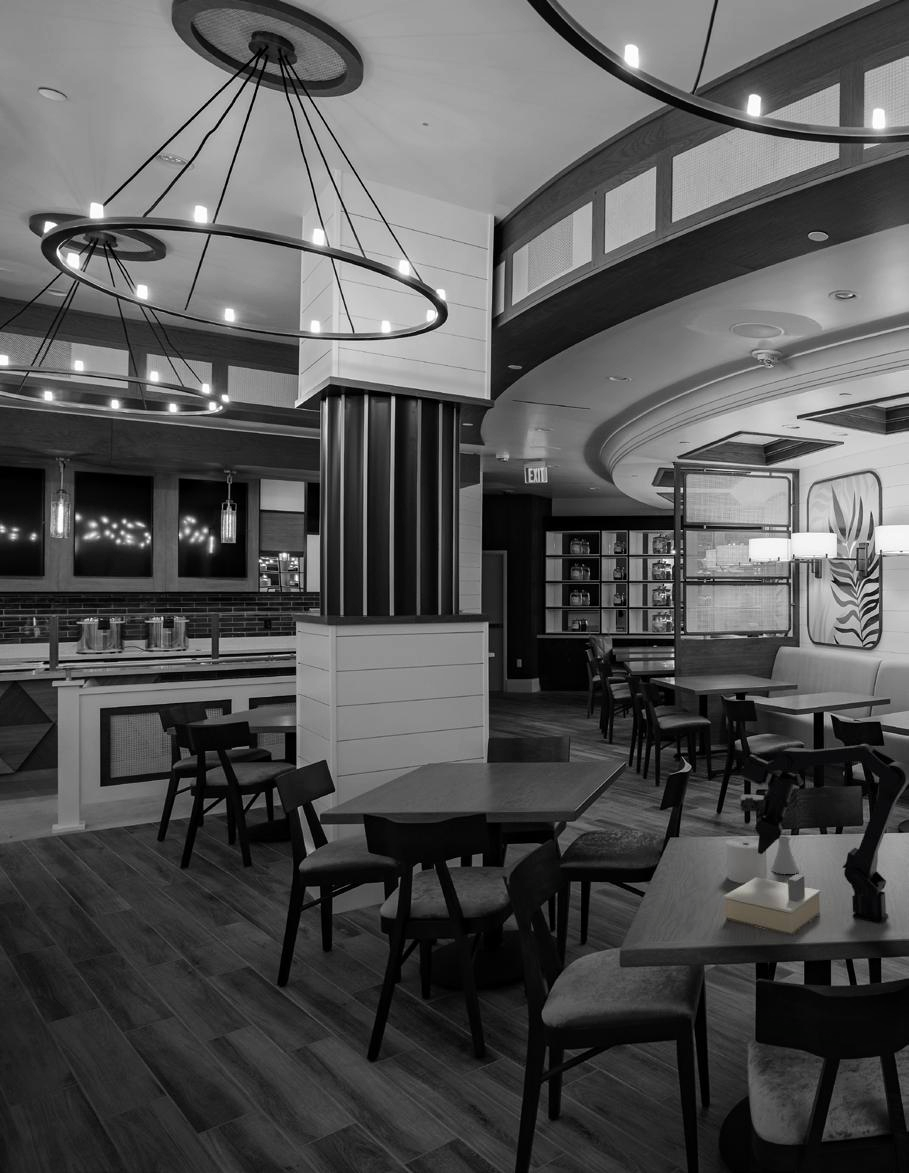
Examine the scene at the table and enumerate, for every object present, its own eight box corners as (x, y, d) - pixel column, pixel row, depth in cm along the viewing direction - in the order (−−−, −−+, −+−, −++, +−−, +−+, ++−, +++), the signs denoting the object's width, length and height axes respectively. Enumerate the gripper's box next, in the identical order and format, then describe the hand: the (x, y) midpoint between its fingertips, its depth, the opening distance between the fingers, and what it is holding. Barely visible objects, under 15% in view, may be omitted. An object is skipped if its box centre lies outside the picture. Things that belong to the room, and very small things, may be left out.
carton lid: (820, 892, 210) (819, 870, 210) (790, 913, 197) (790, 888, 197) (756, 879, 221) (755, 858, 221) (724, 898, 208) (723, 875, 208)
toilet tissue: (726, 882, 235) (725, 846, 236) (728, 870, 247) (727, 835, 247) (767, 886, 232) (765, 849, 232) (767, 873, 243) (765, 838, 243)
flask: (785, 877, 239) (783, 841, 239) (766, 870, 246) (765, 836, 246) (804, 873, 242) (802, 838, 242) (785, 867, 249) (783, 832, 249)
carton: (819, 914, 210) (819, 894, 210) (791, 935, 197) (790, 914, 197) (757, 900, 221) (756, 881, 221) (726, 919, 208) (725, 899, 208)
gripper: (750, 772, 233) (734, 824, 236) (744, 793, 216) (726, 847, 219) (791, 787, 229) (774, 839, 232) (789, 809, 212) (770, 865, 215)
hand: (761, 847), depth 225 cm, fingers open, 9 cm apart
